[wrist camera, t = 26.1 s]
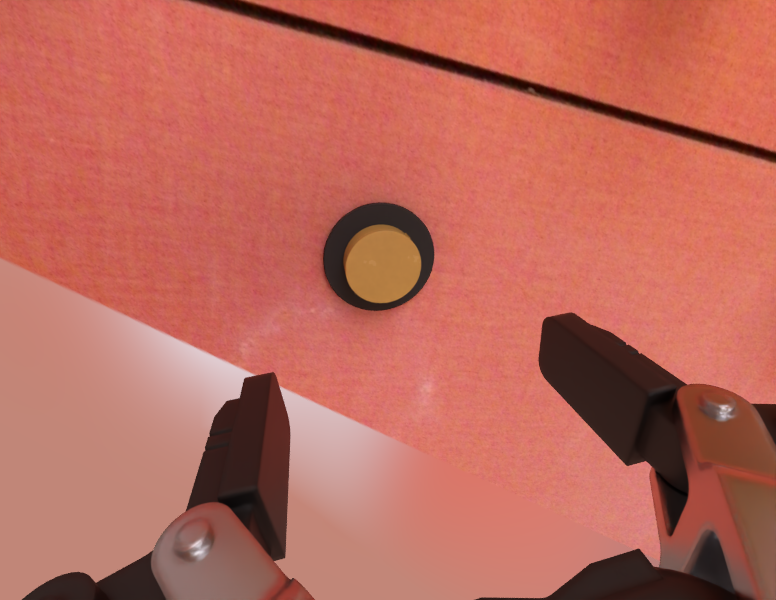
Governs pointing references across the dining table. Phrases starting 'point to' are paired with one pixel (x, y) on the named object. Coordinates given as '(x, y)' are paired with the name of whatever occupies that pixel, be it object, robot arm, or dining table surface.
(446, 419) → the dining table surface
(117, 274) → the dining table surface
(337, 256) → the coaster
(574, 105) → the dining table surface
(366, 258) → the lid
